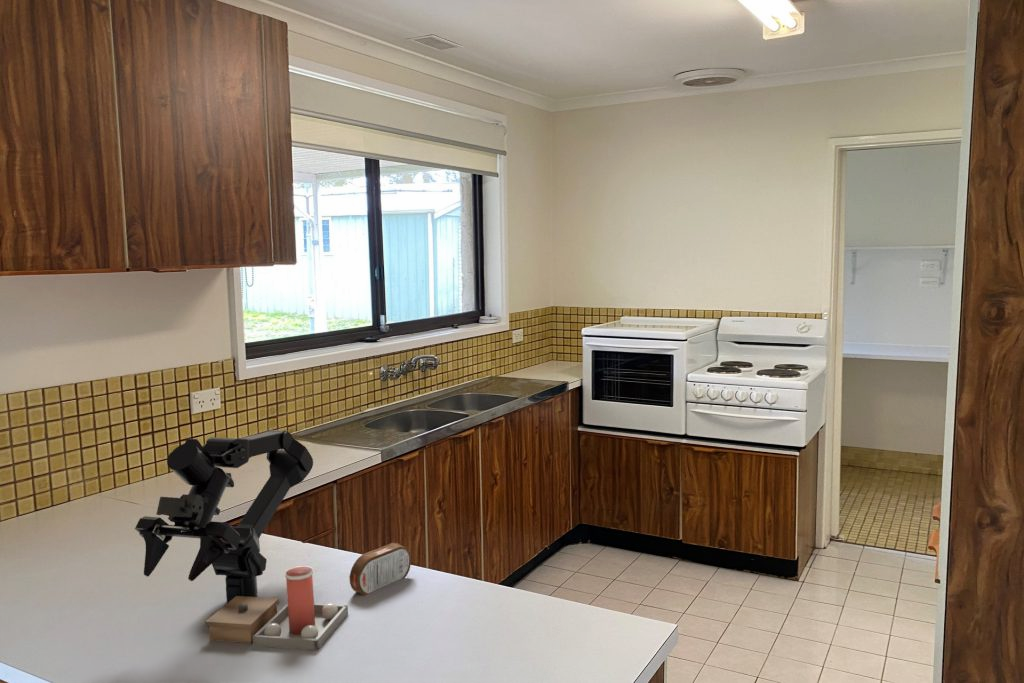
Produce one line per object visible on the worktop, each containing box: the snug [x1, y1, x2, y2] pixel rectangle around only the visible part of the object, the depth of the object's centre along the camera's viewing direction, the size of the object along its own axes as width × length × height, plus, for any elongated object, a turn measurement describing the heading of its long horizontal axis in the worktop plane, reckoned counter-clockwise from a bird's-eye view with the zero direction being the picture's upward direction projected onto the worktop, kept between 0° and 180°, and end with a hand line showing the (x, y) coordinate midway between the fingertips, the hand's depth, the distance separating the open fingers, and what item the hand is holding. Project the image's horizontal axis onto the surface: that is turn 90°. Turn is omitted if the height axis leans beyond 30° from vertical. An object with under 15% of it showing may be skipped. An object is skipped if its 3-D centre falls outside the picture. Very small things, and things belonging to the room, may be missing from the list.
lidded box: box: [204, 596, 280, 644], centre depth 147 cm, size 11×9×5 cm
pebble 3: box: [322, 602, 338, 620], centre depth 149 cm, size 3×3×3 cm
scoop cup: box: [284, 565, 315, 635], centre depth 145 cm, size 5×5×11 cm
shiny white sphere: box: [264, 623, 282, 636], centre depth 142 cm, size 3×3×3 cm
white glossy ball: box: [301, 625, 318, 639], centre depth 141 cm, size 3×3×3 cm
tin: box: [349, 542, 412, 596], centre depth 165 cm, size 15×3×8 cm, turn 141°
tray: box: [252, 602, 349, 651], centre depth 146 cm, size 14×12×2 cm
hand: (167, 577), depth 139 cm, fingers open, 9 cm apart
